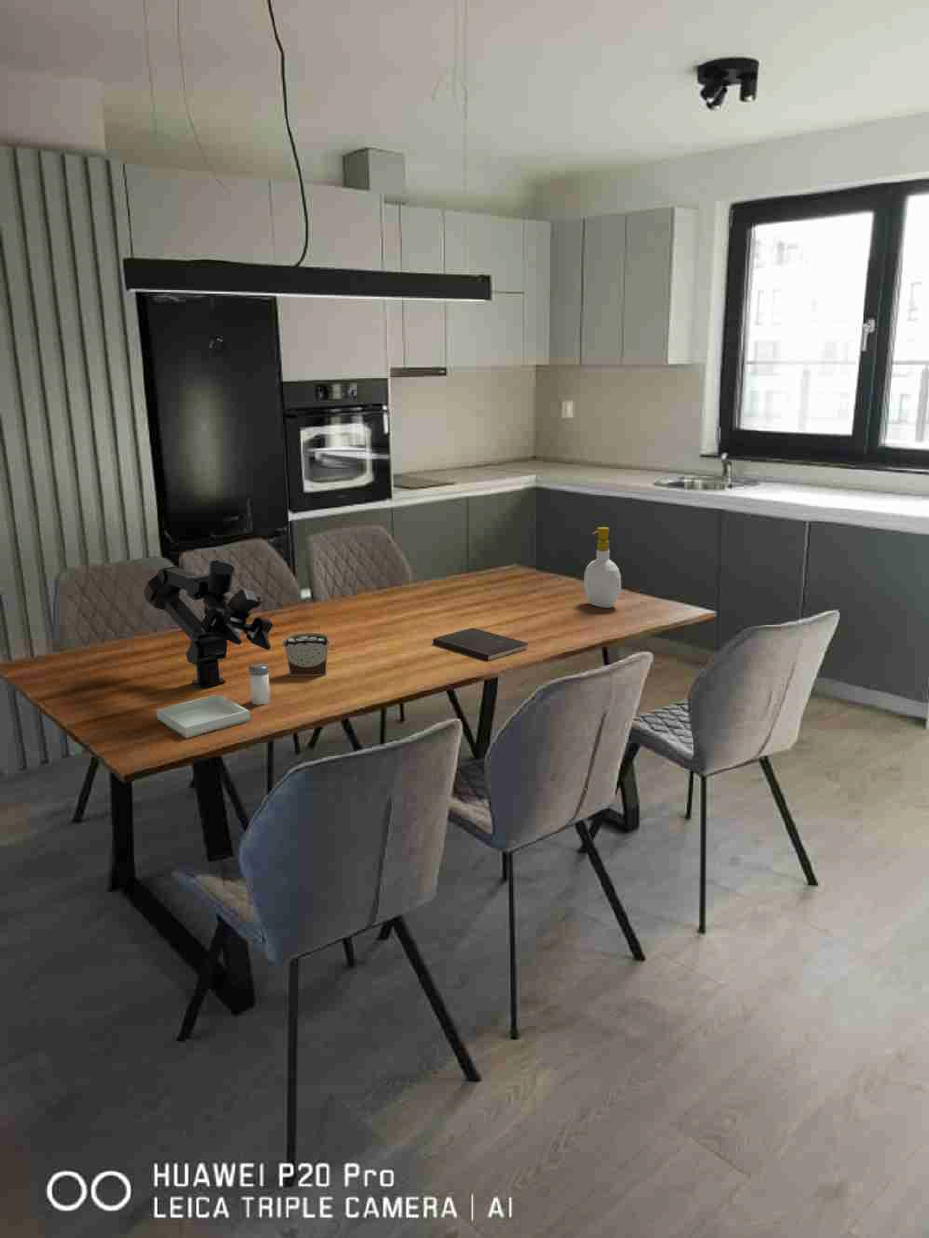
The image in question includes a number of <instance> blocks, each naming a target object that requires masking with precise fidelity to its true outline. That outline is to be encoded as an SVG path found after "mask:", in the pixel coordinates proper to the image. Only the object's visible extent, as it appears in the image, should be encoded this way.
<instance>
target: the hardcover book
mask: <svg viewBox="0 0 929 1238" xmlns="http://www.w3.org/2000/svg"><path fill="white" fill-rule="evenodd" d="M432 644H433V645H434V646H437V647H441V648H444V649H446V650H451V651H453V652H457V653H460V652H461V654H463V653H464V655H466V654H467V656H470V657H473V658H476V659H480V660H483V661H486V662H489V661H492V660H495V659H499V658H503V657H505V655H506V656H509V655H512V654H514V653H513V652H515V653H518V652H522V651H525V650H527V649H528V645H529V642H526V641H522V640H519V639H515V638H512V637H508V636H504V635H501V634H497V633H494V632H490V631H486V630H483V629H479V628H475V627H470V628H467V629H463V630H460V631H456V632H452V633H448V634H445V635H441V636H438V637H433V640H432ZM524 649H525V650H524ZM511 653H512V654H511ZM508 654H509V655H508Z"/></svg>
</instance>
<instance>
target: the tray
mask: <svg viewBox="0 0 929 1238" xmlns="http://www.w3.org/2000/svg"><path fill="white" fill-rule="evenodd" d="M156 719H158V720H157V721H159V720H160V721H161V723H162V722H163V723H164V725H165V724H166V725H165V726H167V728H170V729H171V730H173V731H174V730H175V731H174V732H176V733H177V732H178V733H177V734H179V735H180V734H181V735H180V736H182V737H183V738H185V737H186V738H185V739H190V738H193V736H194V737H196V735H197V736H201V735H204V734H203V733H205V734H207V732H208V733H211V732H210V731H212V732H214V731H213V730H216V731H218V730H222V729H226V728H229V727H233V725H234V726H237V725H241V724H244V723H248V722H250V721H251V713H250V710H249V709H247V708H245V707H244V706H241V705H240V704H238V703H236V702H235V701H232V700H231V699H229V698H227V697H226V696H223V695H221V694H219V693H217V694H213V695H210V696H205V697H200V698H197V699H193V700H189V701H185V702H180V703H177V704H172V705H169V706H165V707H161V708H156ZM160 721H159V722H160ZM163 723H162V724H163ZM200 734H201V735H200ZM189 737H190V738H189Z"/></svg>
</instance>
